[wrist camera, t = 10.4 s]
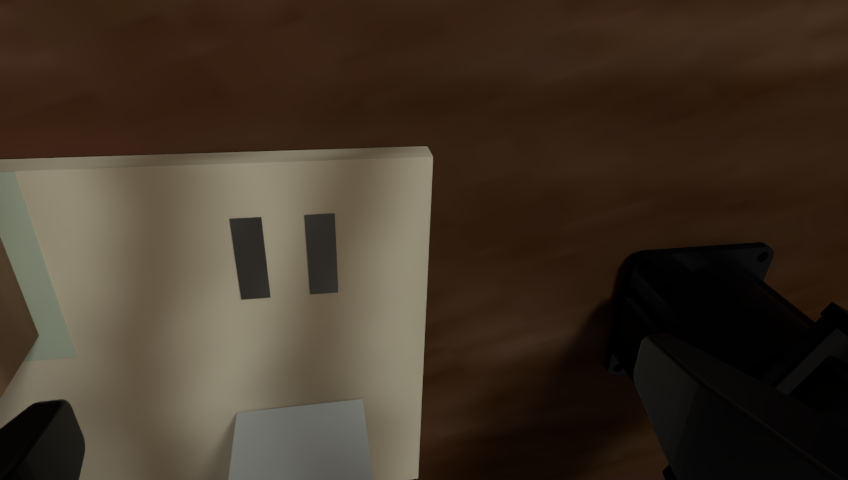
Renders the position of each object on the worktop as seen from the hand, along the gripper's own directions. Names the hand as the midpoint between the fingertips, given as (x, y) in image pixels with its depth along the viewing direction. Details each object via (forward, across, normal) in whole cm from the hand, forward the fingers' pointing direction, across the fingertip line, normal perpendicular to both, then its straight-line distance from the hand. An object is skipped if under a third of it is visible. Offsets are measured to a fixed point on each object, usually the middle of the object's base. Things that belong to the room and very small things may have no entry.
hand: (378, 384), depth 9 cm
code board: (+12, +7, +8) cm, 16 cm away
